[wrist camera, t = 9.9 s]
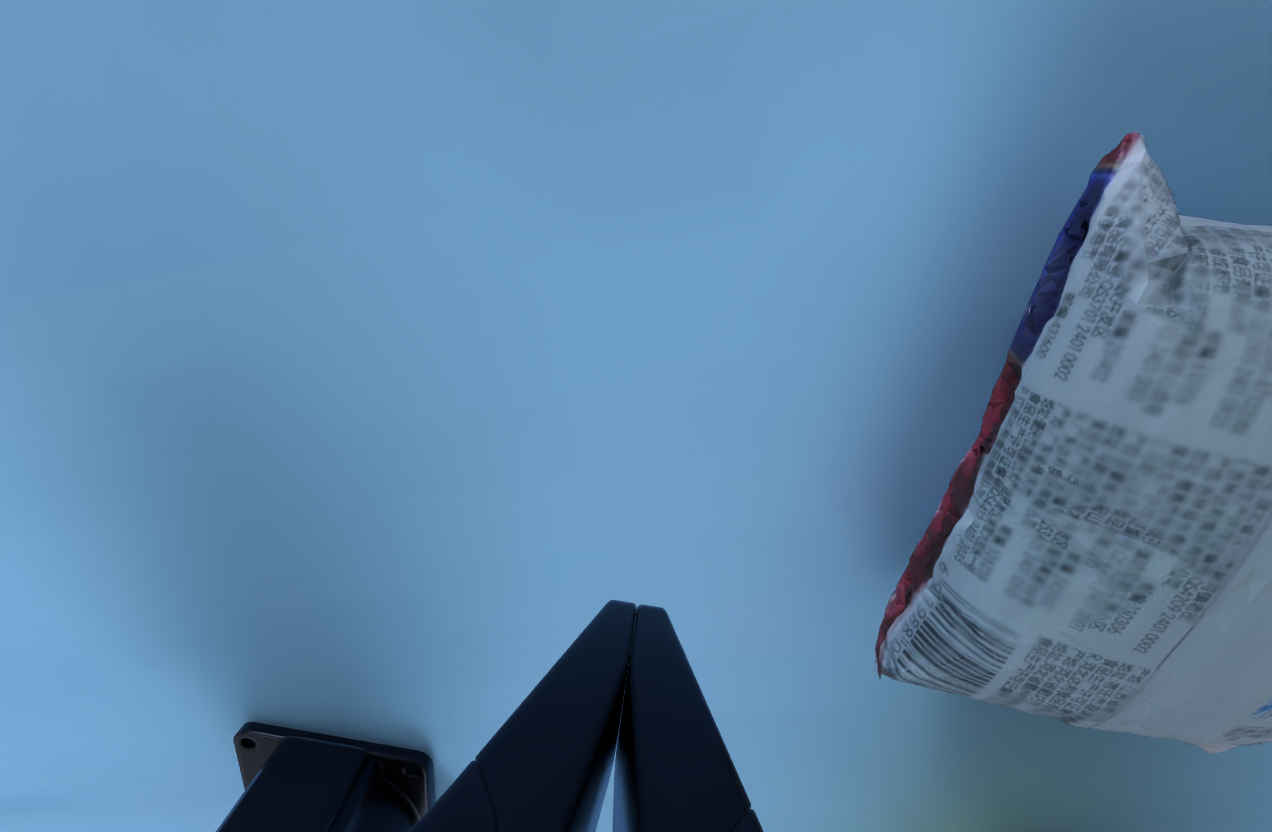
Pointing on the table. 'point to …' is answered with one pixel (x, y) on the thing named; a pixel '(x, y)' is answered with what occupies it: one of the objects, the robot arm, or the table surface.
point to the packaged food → (1115, 487)
